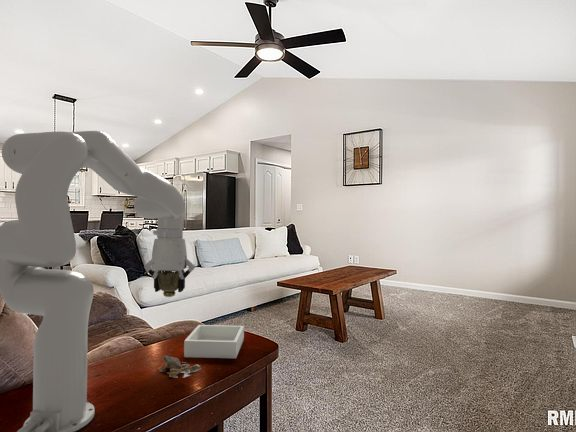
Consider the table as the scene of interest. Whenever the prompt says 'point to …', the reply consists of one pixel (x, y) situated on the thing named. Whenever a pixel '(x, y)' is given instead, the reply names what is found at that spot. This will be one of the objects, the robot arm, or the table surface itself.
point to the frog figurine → (177, 367)
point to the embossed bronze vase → (168, 282)
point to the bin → (214, 341)
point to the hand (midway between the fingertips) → (169, 290)
